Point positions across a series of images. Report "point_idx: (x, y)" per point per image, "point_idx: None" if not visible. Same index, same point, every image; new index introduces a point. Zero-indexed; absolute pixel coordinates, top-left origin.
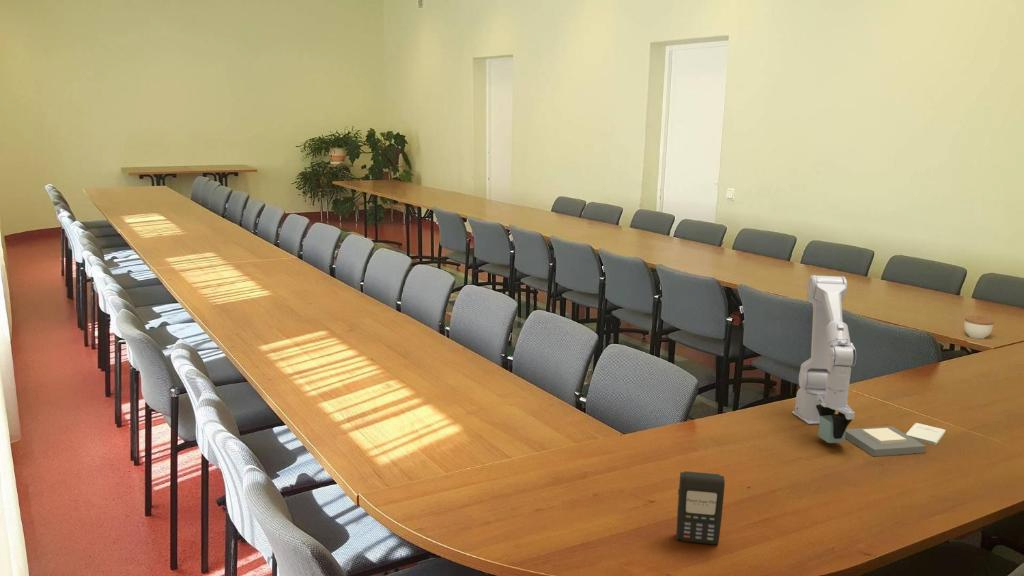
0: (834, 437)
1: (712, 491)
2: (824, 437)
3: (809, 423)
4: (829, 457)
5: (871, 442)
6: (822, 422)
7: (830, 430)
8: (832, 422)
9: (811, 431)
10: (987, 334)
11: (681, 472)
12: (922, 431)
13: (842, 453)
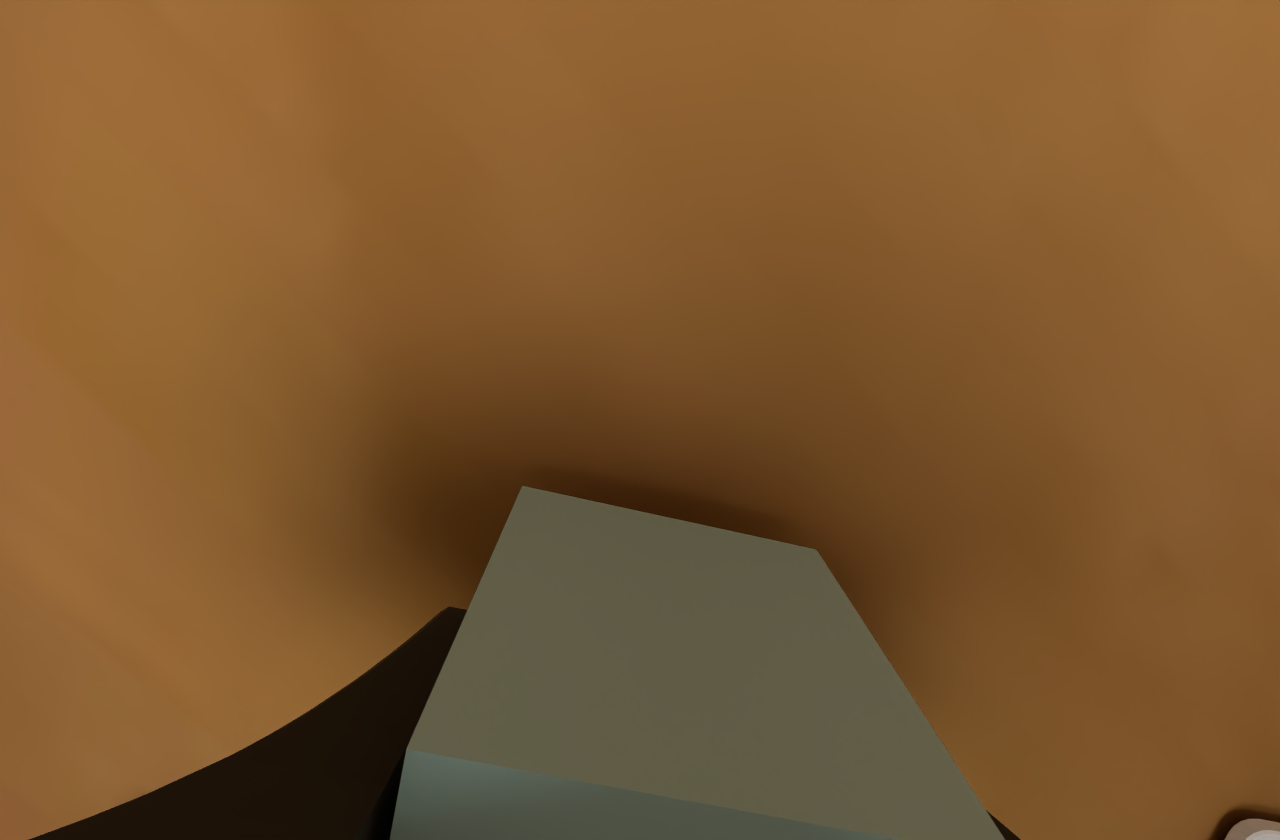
0: (457, 612)
1: None
2: (642, 531)
3: (1242, 830)
4: (270, 235)
5: None
6: (816, 715)
7: (469, 614)
8: (412, 813)
9: (1068, 688)
10: None
11: None
12: None
13: (336, 529)
